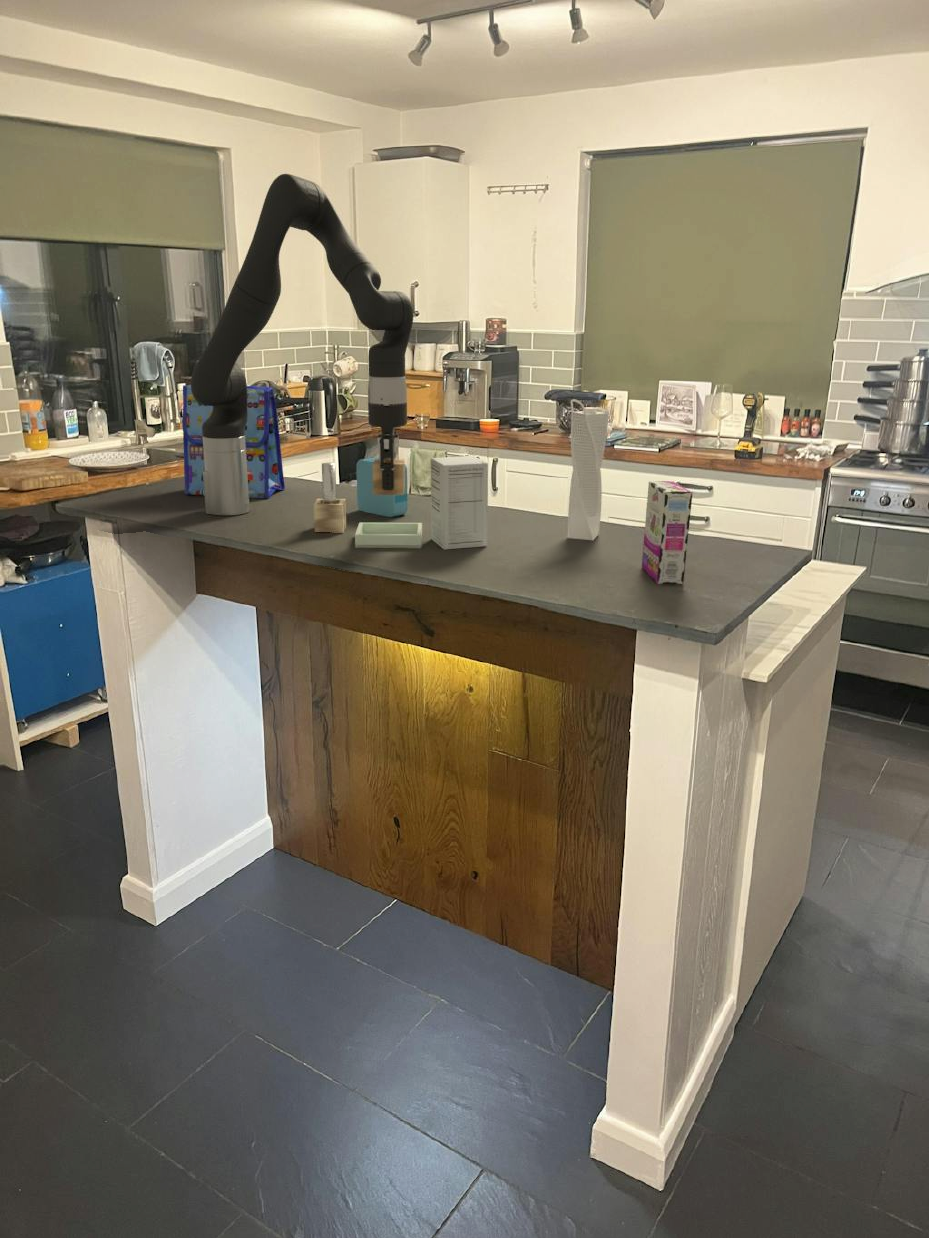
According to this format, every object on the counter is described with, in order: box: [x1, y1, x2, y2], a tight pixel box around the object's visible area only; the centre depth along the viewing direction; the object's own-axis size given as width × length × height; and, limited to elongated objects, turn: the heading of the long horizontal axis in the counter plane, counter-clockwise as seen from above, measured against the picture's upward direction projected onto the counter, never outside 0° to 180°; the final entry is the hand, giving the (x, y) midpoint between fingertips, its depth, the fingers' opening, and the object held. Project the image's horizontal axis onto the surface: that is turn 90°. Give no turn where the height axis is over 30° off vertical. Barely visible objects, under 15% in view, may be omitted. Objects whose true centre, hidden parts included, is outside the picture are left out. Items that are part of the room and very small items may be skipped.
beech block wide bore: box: [313, 498, 347, 534], centre depth 198 cm, size 6×6×6 cm
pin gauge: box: [321, 462, 338, 504], centre depth 197 cm, size 3×3×14 cm
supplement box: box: [430, 455, 489, 551], centre depth 186 cm, size 10×9×17 cm
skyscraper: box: [567, 398, 609, 541], centre depth 191 cm, size 8×8×28 cm
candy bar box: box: [641, 480, 694, 586], centre depth 165 cm, size 11×5×16 cm, turn 5°
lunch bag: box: [181, 384, 286, 499], centre depth 231 cm, size 22×14×29 cm, turn 82°
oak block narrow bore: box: [373, 458, 406, 495], centre depth 186 cm, size 6×6×6 cm
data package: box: [355, 457, 408, 518], centre depth 213 cm, size 12×4×12 cm, turn 50°
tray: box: [354, 522, 423, 549], centre depth 189 cm, size 13×11×3 cm
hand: (388, 486), depth 186 cm, fingers closed on oak block narrow bore, 6 cm apart
